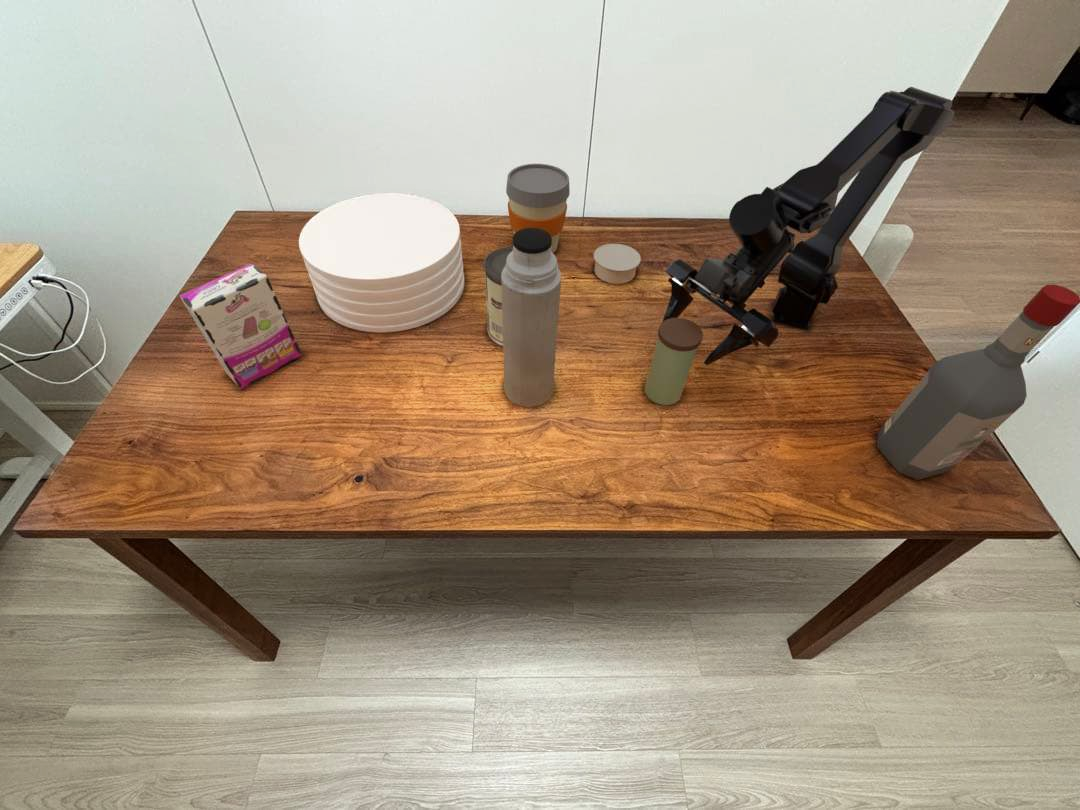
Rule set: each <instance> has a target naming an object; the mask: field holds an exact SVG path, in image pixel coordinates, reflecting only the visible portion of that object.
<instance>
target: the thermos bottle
mask: <svg viewBox="0 0 1080 810" xmlns="http://www.w3.org/2000/svg"><path fill="white" fill-rule="evenodd" d="M551 245H552V237H551V235H550V234H549V233H548V232H546V231H545V230H542V229H539V228H525V229H521V230H519V231H517V232H516V233H515V234H514V233H513V236H512V246H513V251H512V252H510V254H509V255H508V256H507V260H506V265H505V267H504V269H503V271H502V275H501V285H502V322H503V346H502V353H503V355H502V356H503V357H502V358H503V389H504V394H505V396H506V397H507V400H509V401H510V402H512V403H513V404H515V405H517V406H520V407H526V408H533V407H537V406H541V405H543V404H545V403H546V402H547V401H548V400H549V399H551V397H552V395H553V392H554V383H555V381H554V380H555V368H556V356H557V355H556V353H557V340H558V329H559V327H558V326H559V314H560V303H561V301H560V300H561V290H562V289H561V287H562V286H561V284H562V272H561V270H560V268H559V263H558V259H557V257H556V255H555V254H554V253H552V252H551Z"/></svg>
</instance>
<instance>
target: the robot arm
mask: <svg viewBox="0 0 1080 810" xmlns="http://www.w3.org/2000/svg"><path fill="white" fill-rule="evenodd" d="M952 106H953V100H952V99H950V98H946V97H943V96H941V95H938V94H936V93H935V94H934V93H932V92H929V91H925V90H922V89H920V88H917V87H914V86H909V87H907V88H906V89H905V90H904V91H896V90H895V91H894V90H889V91H885V92H884V93H882V94H881V95H880V97H879V98H878V99H877V101H876V102H875V104H874V105H873V108H872V110H870V111H869V113H867V114H866V116H864V117H863V118H862V120H861V121H859V123H857V124H856V126H854V127H853V129H852V130H851V131H850V132H849V133H848V134H847V135H846V136H845V137H843V138H842V140H840V142H838V144H837V145H836V146H834V147H833V148H832V149H831V150H830V151H829V153H828V154H827V155H825V156H824V158H823V159H821V160H820V161H819V162H818V163H816V164H814V165H810V166H808V167H805V168H802V169H799V170H797V171H796V172H795V173H794V174H793V175H791V176H790V177H789V178H788V179H787V180H785V181H784V182H783V183H780V184H779V185H778V186H776V187H774V188H771V187H769V186H766V187H765V188H764V189H763V190H762V192H761V193H753V194H749V195H747V196H744V197H743V198H741V199H740V200H738V201H736V203H734V205H733V206H732V208H731V210H730V213H729V217H728V221H729V226H730V228H731V229H732V231H733V233H734V234H735V236H736V238H737V240H738V242H739V243H740V247H739V248H738V249H737V250H736V252H735V253H732V252H730V253H729V254H728V255H726V256H725V258H724V259H722V260H720V259H717V258H711V257H706V258H705V259H704V261H703V263H702V264H701V266H700V268H699V270H697V269H696V268H694V267H693V266H691V265H689V264H688V263H686V262H685V261H683V260H682V259H680V258H679V259H676V260H675V261H672V262H671V263H670V264H669V265H668V267H667V268H666V269H665V271H664V272H665V273H666V274H667V275H668V276H669V277H668V281H667V282H668V283H669V284H670V285H671V293H670V298H669V302H668V305H667V307H666V311H665V314H664V316H663V319H662V322H663V321H665V320H667V319H670V318H680V315H681V314H682V313H683V312H684V311H685V310H686V309H687V308H688V307H689V305H690V304H691V303H692V302H693V301H694V299H695V298H694V297H693V296H692V295H691V294H695V293H697V294H699V295H700V296H702V297H703V298H705V300H707V301H709V302H710V303H711V304H713V305H715V306H716V307H717V308H719V309H721V310H722V311H724V312H725V313H726V314H728V315H729V316H730V317H732V318H733V319H735V320H736V321H738V322H739V323H741V326H740V325H739V324H737V323H734V324H733V326H732V328H731V330H730V331H729V333H728V335H726V336H725V338H724V339H723V340H721V342H719V344H718V345H717V346H716V347H715V348H714V349H713V350H712V351H711V352H710V353H709V355H708V356H707V357H706V359H705V360H704V361H703V364H704V366H709V365H711V364H713V363H715V362H717V361H719V360H720V359H723V358H724V357H727V356H729V355H730V354H732V353H734V352H736V351H737V352H738V351H739V350H741V349H745V348H746V347H750V346H754V347H756V348H757V347H759V346H760V343H761V344H762V345H764V346H765V347H767V348H770V347H771V345H772V344H773V343H774V342H776V340H777V339H778V337H779V328H778V327H777V324H781V325H786V326H790V327H791V326H792V327H796V328H800V329H805V330H809V329H810V327H811V320H812V317H813V316H814V313H815V311H816V310H817V308H818V306H819V305H820V304H825V305H826V304H828V303H829V302H830V300H831V298H832V296H833V295H835V292H836V290H837V289H838V287H839V284H838V282H837V277H836V274H837V273H838V271H839V270H840V268H841V267H842V259H843V258H842V257H843V249H844V246H845V245H846V243H847V242H848V240H849V239H850V238H851V236H852V235H853V234H854V232H855V231H856V230H857V228H858V226H859V225H860V224H861V222H862V221H863V220H864V218H865V217H866V216H867V214H868V212H869V211H870V210H871V208H872V207H873V206H874V204H875V203H876V201H877V200H878V198H879V197H880V196H881V194H882V193H883V191H885V188H886V187H887V186H888V185H889V183H890V181H891V180H892V179H893V177H894V176H895V175H896V173H897V172H898V170H899V169H900V168H901V166H902V165H903V164H904V163H905V161H908V160H909V159H911V158H913V157H915V156H916V155H918V154H920V153H922V152H923V151H925V150H926V149H928V147H929V146H931V144H932V142H933V141H934V140H935V139H936V137H940V136H941V135H942V134H943V133H944V132H945V131H946V130H947V128H948V127H949V125H950V124H951V122H952V120H953V119H954V116H955V110H952ZM852 179H853V180H852ZM851 180H852V182H851V183H850V185H849V186H848V187H847V189H846V190H845V192H844V193H843V194H842V197H841V198H840V199H839V201H838V202H837V200H838V196H839V195H838V194H839V193H840V192H841V191H842V190H843V189H844V188H845V186H846V185H847V184H848V183H849V182H850V181H851ZM787 227H789V228H791V229H793V230H795V231H797V232H798V233H800V234H807V233H808V234H811V233H813V232H814V231H817V230H818V232H817V233H816V234H815V235H813V236H811V237H810V238H808V239H806V240H800V241H799V242H798V243H796V245H795V238H796V234H795V233H793V232H792V231H790V230H788V228H787ZM787 254H788V255H787ZM785 256H786V257H785ZM783 258H784V260H783ZM781 261H782V263H781V265H780V268H779V273H778V279H777V282H778V283H779V284H782V285H783V287H780V288H779V289H778V291H777V294H776V296H775V298H774V300H773V301H772V307H771V312H772V314H773V317H772V319H771V318H769V317H768V316H767V315H765V314H763V313H762V312H760V311H759V310H757V309H756V308H754V307H753V308H751V309H749V310H746V309H745V308H746V307H747V304H746V302H747V301H748V300H749V299H750V297H752V295H753V294H754V293H755V292H756V290H758V288H759V289H762V288H763V287H764V285H765V284H766V282H765V280H766V278H768V276H770V274H771V273H772V271H774V269H775V268H776V267H777V266H778V265H779V264H780V262H781ZM726 302H728V303H729V304H731V305H732V306H729V304H727V303H726ZM662 322H661V323H662ZM776 323H777V324H776Z"/></svg>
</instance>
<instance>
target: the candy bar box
mask: <svg viewBox="0 0 1080 810" xmlns="http://www.w3.org/2000/svg"><path fill="white" fill-rule="evenodd" d="M179 298H180V299H181V301H182V303H183V305H184V306H185V308H186V309H187V311H188V313H189V315H190V316H191V317H192V319H193V321H194V323H195V324H196V326H197V327H198V329H199V331H200V333H201V335H202V336H203V337H204V339H205V341H206V342H207V344H208V345H209V347H210V349H211V350H212V352H213V354H214V355H215V357H216V358H217V360H218V362H219V364H220V365H221V366H222V368H223V370H224V372H225V373H226V374H227V376H228V377H229V378H230V379H231V380H232V381H233V382H234V383H235V385H236V386H237V387H238V388H239V389H240V390H243V389H245V388H248V387H249V386H251V385H252V384H254V383H255V382H257V381H260V380H261V379H262V378H263V379H264V378H265V377H266V376H268V375H270V374H272V373H273V372H275V371H277V370H279V369H280V368H282V367H284V366H286V365H288V364H290V363H291V362H293V361H295V360H296V359H298V358H300V357H302V356H303V354H302V352H301V349H300V346H299V345H298V342H297V340H296V338H295V335H294V334H293V331H292V329H291V327H290V324H289V322H288V320H287V318H286V315H285V313H284V311H283V309H282V307H281V304H280V302H279V300H278V297H277V295H276V293H275V291H274V288H273V286H272V284H271V281H270V279H269V277H268V275H267V274H266V273H264V272H263V271H261V270H260V269H259V268H257V267H256V265H255V264H253V263H249V264H246V265H244V266H242V267H240V268H237V269H235V270H233V271H231V272H229V273H226V274H224V275H222V276H220V277H218V278H215V279H213V280H211V281H209V282H206V283H205V284H202V285H199V286H197V287H195V288H193V289H191V290H188V291H186V292H184V293H182V294H179Z"/></svg>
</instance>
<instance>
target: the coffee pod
mask: <svg viewBox="0 0 1080 810" xmlns="http://www.w3.org/2000/svg"><path fill="white" fill-rule="evenodd" d="M593 260H594V270H593V271H594V274H595V275H596V276H597V277H598V278H599V280H602V281H603V282H606V283H610V284H617V285H618V284H619V285H621V284H626V283H629V282H631V281H632V280H633V279H634V278H635V276H636V273H637V268H638V266H640V263H641V254H640V253H639V252H638V251H637V250H636V249H635V248H633V247H631V246H629V245H626V244H621V243H607V244H603V245H600V246H598V247H597V248H596V249H595V250H594V252H593Z"/></svg>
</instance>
